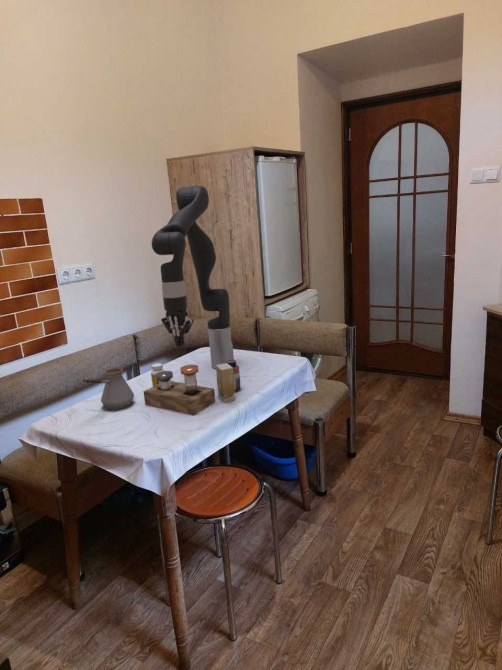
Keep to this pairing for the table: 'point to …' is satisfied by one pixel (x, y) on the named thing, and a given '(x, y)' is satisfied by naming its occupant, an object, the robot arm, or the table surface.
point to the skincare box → (225, 382)
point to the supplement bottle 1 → (155, 370)
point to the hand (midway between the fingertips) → (180, 346)
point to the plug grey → (164, 379)
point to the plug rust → (190, 379)
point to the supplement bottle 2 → (235, 374)
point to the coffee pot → (114, 389)
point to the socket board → (179, 398)
